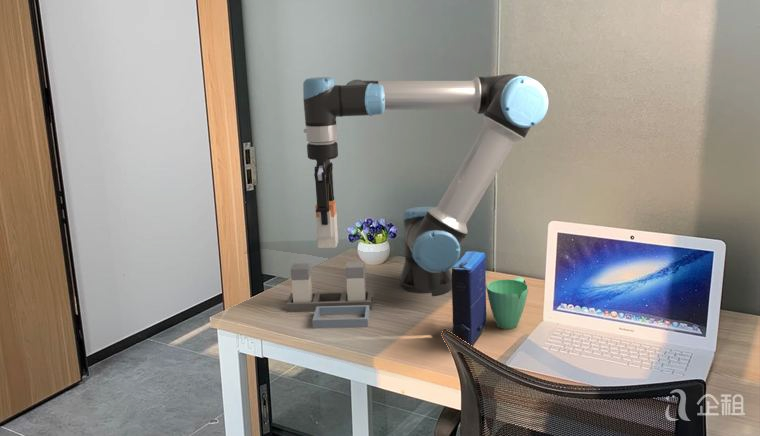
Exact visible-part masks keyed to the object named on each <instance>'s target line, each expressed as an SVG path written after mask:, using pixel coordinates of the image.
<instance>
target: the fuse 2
mask: <svg viewBox="0 0 760 436" xmlns="http://www.w3.org/2000/svg"><path fill="white" fill-rule="evenodd" d="M365 273H366V271H365V261H347V262H346V266H345V275H346V276H345V277H346V279H345V280H346V292H347V295H348V301H365V300H366V291H367V290H366V274H365Z"/></svg>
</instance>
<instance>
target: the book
mask: <svg viewBox="0 0 760 436" xmlns="http://www.w3.org/2000/svg"><path fill="white" fill-rule="evenodd" d="M486 258H487V257H486V254H485V252H479V251H466V252H465V253H464V254H463V255H462V256H461V258H460V259H458V261H457V263H456V264H455V265H454V266H453V267H452V268H451V269H452V270H451V274H452V289H451V300H452V301H451V303H452V304H451V306H452V308H451V309H452V334H455V335H456V336H458V337H459V338H461V339H462V340H464V341H466V342H467V343H469V344H470V345H472V347H473V346H474V344H475V343H476V341H477V340H478V339H479V337H480V336H481V334H482V332H483V330H484V329H485V327H486V325H487V285H486V284H487V282H486V281H487V280H486V279H487V278H486V260H487V259H486Z"/></svg>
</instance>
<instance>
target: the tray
mask: <svg viewBox="0 0 760 436" xmlns="http://www.w3.org/2000/svg"><path fill="white" fill-rule="evenodd" d="M370 311H371V310H370V308H369V305H353V306H318V307H316V310H315V312H313V317H312V320H311V323H312V329H340V328H343V329H344V328H368V327H369V322H370ZM345 315H347V316H348V315H349V316H350V315H364V317H344V318H343V317H341V318H339V317H337V318H335V317H334V318H333V317H332V318H320V317H321V316H345Z"/></svg>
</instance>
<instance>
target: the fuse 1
mask: <svg viewBox="0 0 760 436" xmlns="http://www.w3.org/2000/svg"><path fill="white" fill-rule="evenodd" d="M311 271H312V270H311V263H310V262H307V263H304V262H303V263H293V264H292V265H291V268H290V279H291V280H290V281H291V291H292V293H293V303H296V302H312V301H313V296H312V293H313V285H312V284H313V283H312V272H311Z"/></svg>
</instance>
